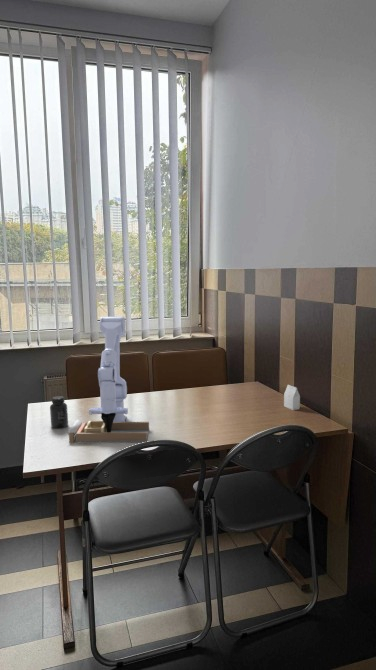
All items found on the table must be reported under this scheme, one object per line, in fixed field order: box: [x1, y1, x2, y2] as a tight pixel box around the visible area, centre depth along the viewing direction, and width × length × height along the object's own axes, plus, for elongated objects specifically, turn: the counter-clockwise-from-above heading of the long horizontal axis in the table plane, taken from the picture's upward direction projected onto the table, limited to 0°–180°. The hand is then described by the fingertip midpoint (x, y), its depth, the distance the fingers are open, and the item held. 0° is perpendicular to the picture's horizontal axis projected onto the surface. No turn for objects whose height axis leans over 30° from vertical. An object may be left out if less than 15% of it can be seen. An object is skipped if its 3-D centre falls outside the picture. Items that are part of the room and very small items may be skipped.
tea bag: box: [283, 384, 301, 411], centre depth 218 cm, size 4×7×10 cm, turn 24°
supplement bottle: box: [49, 395, 69, 429], centre depth 196 cm, size 7×7×12 cm
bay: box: [67, 419, 150, 444], centre depth 184 cm, size 13×29×5 cm, turn 90°
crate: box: [84, 420, 107, 433], centre depth 184 cm, size 9×7×4 cm
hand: (109, 432), depth 184 cm, fingers closed
